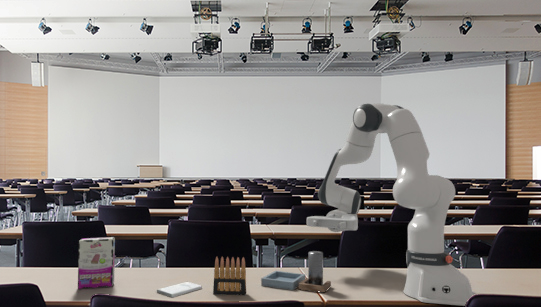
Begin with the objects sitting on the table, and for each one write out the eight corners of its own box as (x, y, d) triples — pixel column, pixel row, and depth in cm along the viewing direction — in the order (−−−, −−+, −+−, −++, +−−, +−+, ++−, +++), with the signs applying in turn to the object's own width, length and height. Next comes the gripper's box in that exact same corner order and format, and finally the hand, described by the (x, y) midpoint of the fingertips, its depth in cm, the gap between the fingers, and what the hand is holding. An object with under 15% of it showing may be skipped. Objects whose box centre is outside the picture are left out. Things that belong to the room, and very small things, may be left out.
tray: (305, 281, 140) (305, 274, 140) (293, 290, 129) (293, 282, 129) (275, 277, 145) (275, 270, 145) (261, 285, 134) (261, 278, 134)
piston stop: (324, 286, 133) (324, 251, 134) (320, 290, 128) (320, 254, 129) (311, 285, 135) (311, 250, 136) (306, 288, 131) (306, 253, 131)
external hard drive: (156, 294, 126) (186, 285, 135) (171, 299, 121) (202, 290, 130) (156, 289, 126) (186, 281, 135) (171, 294, 121) (202, 285, 130)
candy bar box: (114, 283, 136) (115, 236, 137) (112, 287, 131) (114, 238, 132) (80, 285, 133) (81, 237, 134) (76, 289, 128) (78, 240, 129)
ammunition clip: (246, 293, 125) (246, 256, 126) (245, 295, 123) (245, 257, 124) (214, 292, 126) (214, 255, 126) (212, 294, 124) (213, 257, 125)
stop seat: (330, 287, 133) (330, 281, 133) (324, 293, 126) (324, 287, 126) (306, 283, 136) (306, 278, 136) (298, 289, 130) (298, 283, 130)
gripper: (312, 211, 162) (300, 215, 149) (361, 214, 153) (353, 217, 141) (312, 226, 161) (300, 231, 149) (361, 230, 153) (353, 235, 140)
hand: (326, 224), depth 145 cm, fingers open, 8 cm apart
